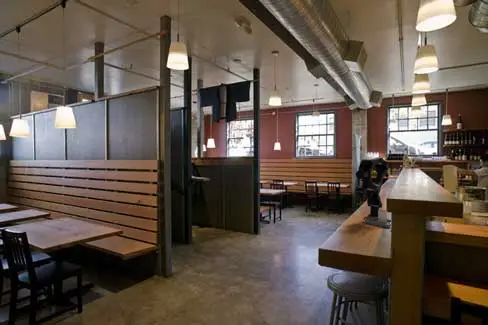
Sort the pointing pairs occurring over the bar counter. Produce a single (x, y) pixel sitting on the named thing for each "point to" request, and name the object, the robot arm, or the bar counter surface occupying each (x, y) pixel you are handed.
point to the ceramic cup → (382, 216)
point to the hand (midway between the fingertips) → (365, 201)
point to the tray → (375, 222)
